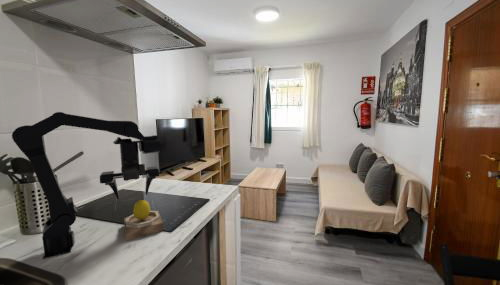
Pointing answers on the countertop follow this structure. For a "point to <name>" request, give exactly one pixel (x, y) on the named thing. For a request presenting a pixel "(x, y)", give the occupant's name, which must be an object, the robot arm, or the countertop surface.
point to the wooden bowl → (143, 225)
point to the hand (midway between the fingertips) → (132, 196)
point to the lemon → (141, 210)
